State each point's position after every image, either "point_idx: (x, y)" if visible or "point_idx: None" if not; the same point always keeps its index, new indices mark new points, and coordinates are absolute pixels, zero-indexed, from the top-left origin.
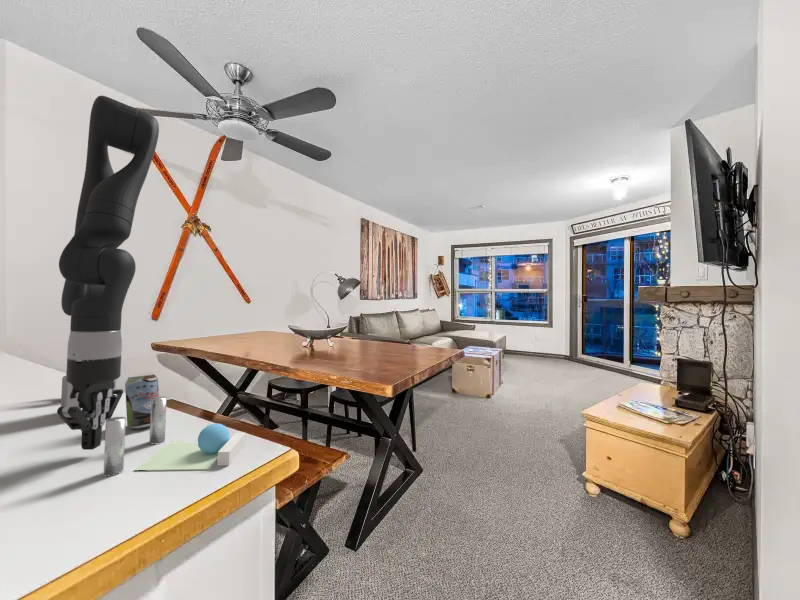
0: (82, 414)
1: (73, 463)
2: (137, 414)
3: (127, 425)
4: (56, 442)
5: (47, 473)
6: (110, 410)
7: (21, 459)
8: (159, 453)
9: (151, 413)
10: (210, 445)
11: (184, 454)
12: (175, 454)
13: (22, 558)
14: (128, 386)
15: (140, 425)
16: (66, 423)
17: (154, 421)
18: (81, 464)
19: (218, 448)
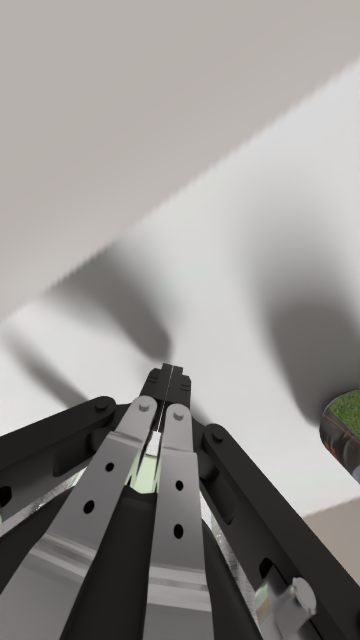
0: (15, 508)
1: (142, 348)
2: (353, 453)
3: (346, 394)
4: (303, 242)
5: (103, 323)
6: (208, 501)
7: (190, 221)
8: (154, 463)
9: (222, 543)
10: None
11: (142, 491)
12: (144, 482)
13: None
14: None
15: (320, 426)
16: (48, 418)
17: (211, 514)
18: (134, 363)
19: None
